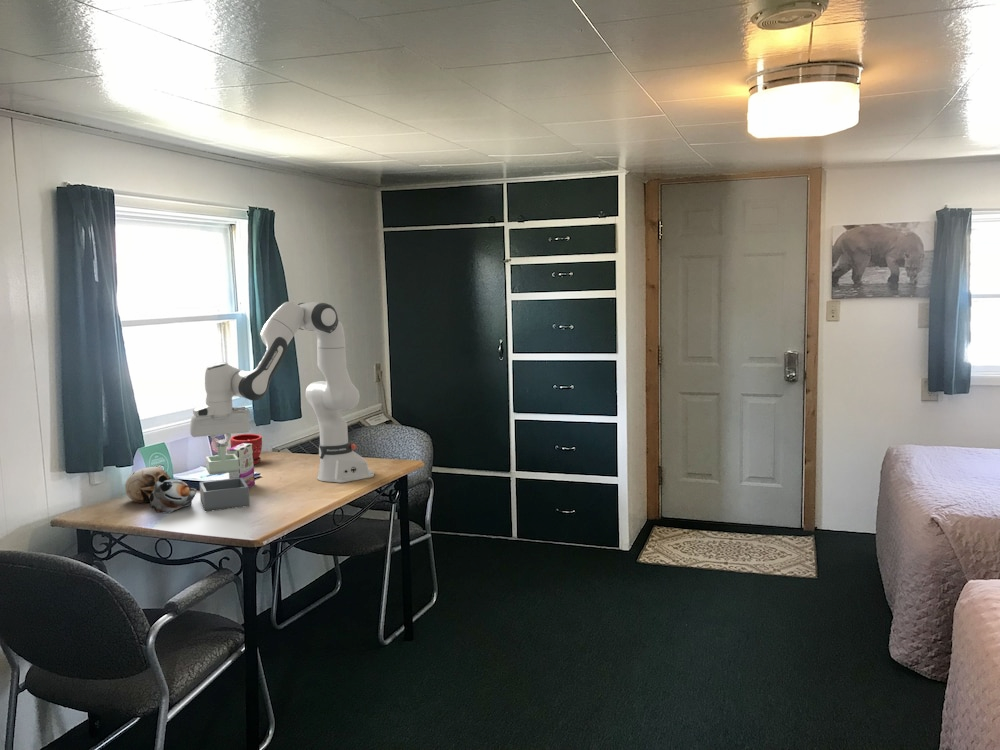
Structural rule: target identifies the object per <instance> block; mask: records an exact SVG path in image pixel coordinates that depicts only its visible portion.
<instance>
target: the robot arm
mask: <svg viewBox="0 0 1000 750" xmlns="http://www.w3.org/2000/svg"><path fill="white" fill-rule="evenodd" d="M338 317H339V316H338V313H337V310H336V309H335V307H334V306H333V305H331V304H329V303H326V302H318V301H310V302H300V303H295V302H293V301H285V302H283V303H281V305H280V306H279V307H277V309H276V310H275V311H274V312H273V313H272V314H271V315H270V317H269V318H268V320H267V321H266V322H265V323H264V325H263V327H262V328H261V331H260V338H261V341H262V344H264V346H265V347H266V351H265V353H264V355H263V356H262V358H261V360H260V361H259V363H258V365H257V366H256V368H255V369H253V370H251V371H248V370H243V369H240V368H237V367H234V366H231V365H230V364H229V363H228V362H225V361H224V362H222V361H221V362H215V363H212V364H210V365H208V366H207V367H206V369H205V374H204V389H205V393H206V398H205V404H202V405H200V406H197V407H194V408H193V410H192V413H193V416H192V417H191V419H190V426H189V427H190V429H189V431H190V432H189V433H190V436H192V437H193V438H197V437H210V439H212V441H213V444H214V448H218V447H219V442H218V441H216V438H217V437H216V436H221V435H223V436H224V435H225V436H226V439H225V440H223V442H224V443H225V447H229V442H230V439H231V437H232V435H233V434H243V433H244V434H246V433H249V432H250V431H251V425H250V419H249V418H250V417H251V411H250V409H249V408H248V407H246V406H241V407H238V406H237V407H236V406H235V407H233V397H234V396H235V397H238V398H244V399H246V400H250V401H252V402H253V401H255V402H256V401H259V400H261V399H263V398H264V397H265V396H266V395H267V394H268V390H269V387H270V383H271V381H272V378H273V377H274V375H275V373H276V371H277V370H278V367H279V366H280V364H281V363H282V361H283V359H284V357H285V355H286V353H287V351H288V347H289V345H290V342H291V340H293V338H294V336H295V335H296V333H297V332H298V330H301V331H302V330H303V331H310V332H315V335H316V339H317V340H316V342H317V343H316V347H317V350H316V353H317V354H316V355H317V357H316V358H317V368H318V369H319V371H320V372H321V373H322V374H323V376H324V379H325V380H318V381H313V382H311V383H309V384H308V385H307V387H306V389H305V400H306V402H307V403H308V404H309V405H310V406H311V408H312V409H313V411H314V414H315V416H316V419H317V423H318V428H319V429H318V431H319V443H318V455H319V467H318V468H319V469H318V473H317V481H318V480H319V481H321V482H331V483H339V484H341V483H346V482H353V481H358V480H365V479H371V478H373V477H375V472H374V471H373V470H371V469H370V468H369V466H368V462H367V460H366V459H365V458H364V457H362V455H360V454H359V453H357V452H355V451H354V450H356V449H357V445H356V444H355V443H351V442H350V441H349V432H348V423H347V421H346V420H345V419H344V418H343V416H342V415H341V413H340V411H341V412H342V411H350V410H351V411H352V410H353V409H355V408H356V407H358V405H359V402H360V398H361V397H360V391H359V389H358V388H357V387H356V386H355V385H354V383H353V382H352V380H351V377H350V374H349V371H348V367H347V355H346V352H347V351H346V350H347V349H346V348H347V347H346V336H345V329H344V325H343V323H342V322H341V321H340V320H339V318H338Z"/></svg>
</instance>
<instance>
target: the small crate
mask: <svg viewBox="0 0 1000 750" xmlns="http://www.w3.org/2000/svg"><path fill="white" fill-rule="evenodd" d="M223 441H224V440H223V439H218V440H217V442H219V447H217V455H209V456H205V464H206V466H205V467H206V471H207V473H208V474H209V476H210V475H211V476H212V475H220V474H229V473H231V472H239V459H238V458H237V456H236V455H235V454H228V453H227V448H226V447H225V443H224V442H223Z"/></svg>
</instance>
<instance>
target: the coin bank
mask: <svg viewBox="0 0 1000 750" xmlns="http://www.w3.org/2000/svg"><path fill="white" fill-rule="evenodd" d="M170 479H171V477H170V475H169V474H168V472H167V471H165V470H164V469H163V468H161V467H159V466H150V467H149V466H148V467H143V468H140V469H137V470H136V471H133V472H132V473H131V474H130V475H129V476H128V478H127V480H126V482H125V488H124V489H125V493H126V496H127V497H128V498H129V499H130V500H131V501H133V502H135V503H138V504H141V503H142V504H143V503H150V495H151V493H152V491H153V490H154V489H155V483H156V482H157V481H159V482H161V483H163V482H164V481H166V480H170Z"/></svg>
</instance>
